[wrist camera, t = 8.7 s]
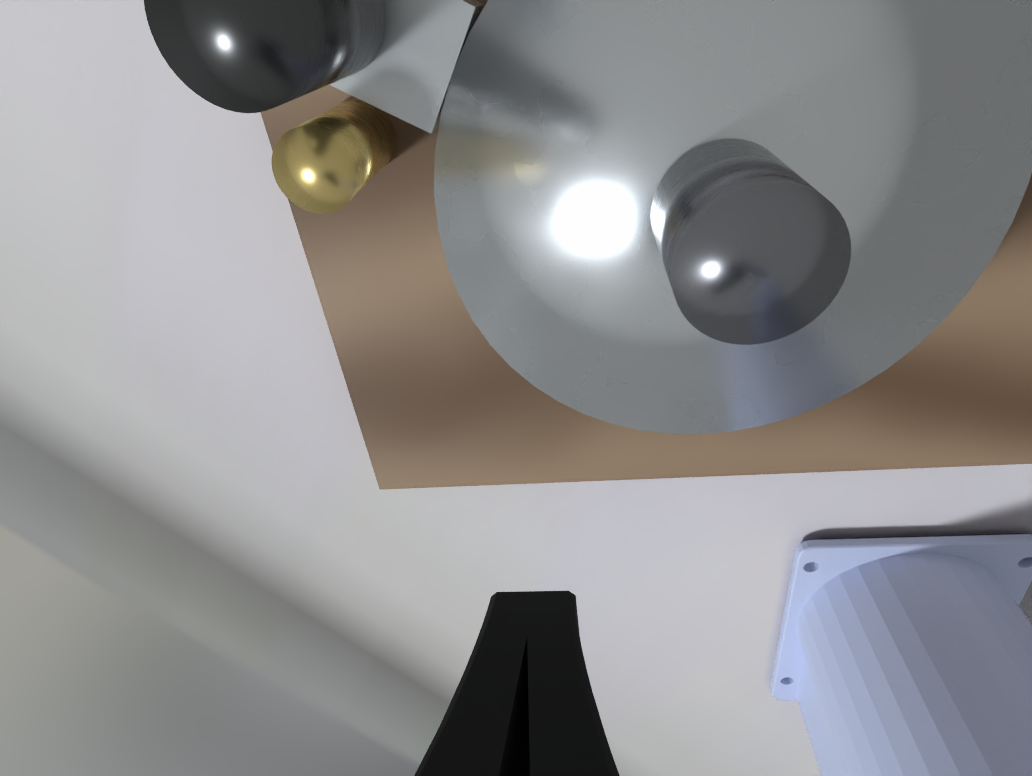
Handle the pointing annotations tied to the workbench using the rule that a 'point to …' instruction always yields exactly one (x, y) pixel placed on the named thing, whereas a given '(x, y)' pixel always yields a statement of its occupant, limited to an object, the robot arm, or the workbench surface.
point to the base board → (595, 443)
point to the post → (747, 243)
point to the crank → (665, 165)
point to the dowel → (333, 155)
